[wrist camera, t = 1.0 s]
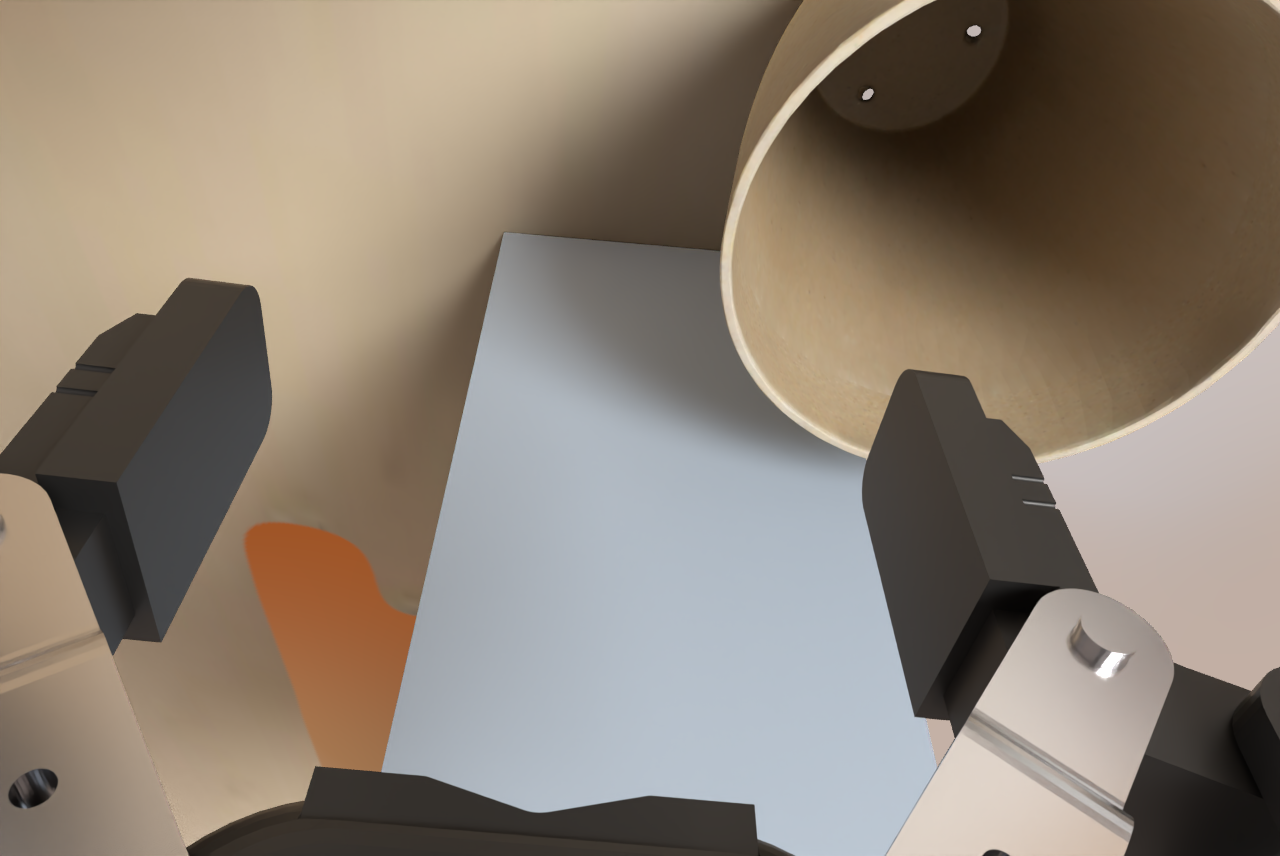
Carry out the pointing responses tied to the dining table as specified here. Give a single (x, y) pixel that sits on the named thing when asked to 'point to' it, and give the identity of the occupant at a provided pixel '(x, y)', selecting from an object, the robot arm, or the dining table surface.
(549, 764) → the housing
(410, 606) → the dining table surface
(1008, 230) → the plant pot
